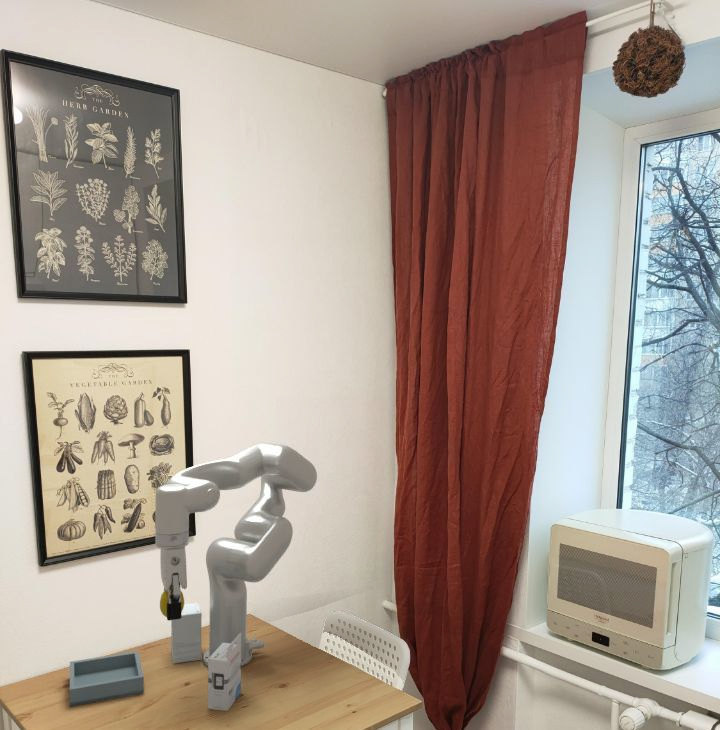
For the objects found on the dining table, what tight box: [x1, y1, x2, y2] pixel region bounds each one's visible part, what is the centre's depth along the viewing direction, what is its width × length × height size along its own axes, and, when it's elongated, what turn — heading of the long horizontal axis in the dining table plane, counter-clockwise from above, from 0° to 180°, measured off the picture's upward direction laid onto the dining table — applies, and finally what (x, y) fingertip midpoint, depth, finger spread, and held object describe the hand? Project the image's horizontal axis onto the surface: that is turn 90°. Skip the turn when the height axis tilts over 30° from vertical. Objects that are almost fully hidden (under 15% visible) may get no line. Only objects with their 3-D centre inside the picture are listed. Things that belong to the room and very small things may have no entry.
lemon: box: [159, 587, 185, 618], centre depth 159 cm, size 6×6×8 cm
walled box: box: [69, 650, 145, 708], centre depth 162 cm, size 16×14×4 cm
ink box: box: [207, 633, 242, 712], centre depth 156 cm, size 9×5×15 cm, turn 168°
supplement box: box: [170, 602, 203, 665], centre depth 178 cm, size 7×7×13 cm
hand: (172, 613), depth 159 cm, fingers closed on lemon, 5 cm apart
